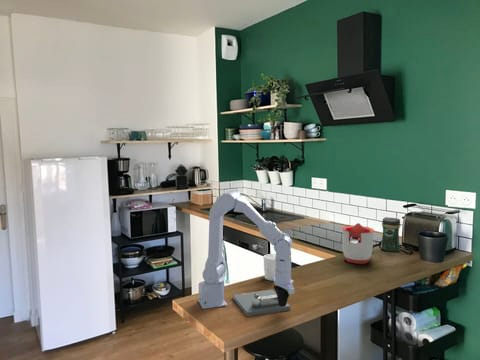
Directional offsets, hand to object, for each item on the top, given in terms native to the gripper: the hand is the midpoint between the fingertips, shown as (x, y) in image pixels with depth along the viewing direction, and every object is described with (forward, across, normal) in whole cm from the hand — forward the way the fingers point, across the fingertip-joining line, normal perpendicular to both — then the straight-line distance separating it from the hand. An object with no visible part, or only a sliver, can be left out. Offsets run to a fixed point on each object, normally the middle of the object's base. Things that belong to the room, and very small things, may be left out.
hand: (282, 305), depth 142 cm
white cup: (+3, +33, -10) cm, 35 cm away
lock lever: (+1, +4, +4) cm, 6 cm away
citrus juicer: (+3, +42, -62) cm, 74 cm away
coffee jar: (+3, +54, -92) cm, 107 cm away
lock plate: (+2, +9, +5) cm, 11 cm away
